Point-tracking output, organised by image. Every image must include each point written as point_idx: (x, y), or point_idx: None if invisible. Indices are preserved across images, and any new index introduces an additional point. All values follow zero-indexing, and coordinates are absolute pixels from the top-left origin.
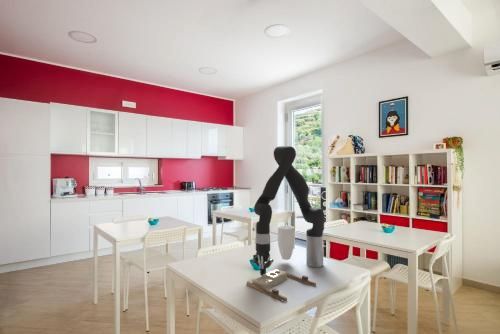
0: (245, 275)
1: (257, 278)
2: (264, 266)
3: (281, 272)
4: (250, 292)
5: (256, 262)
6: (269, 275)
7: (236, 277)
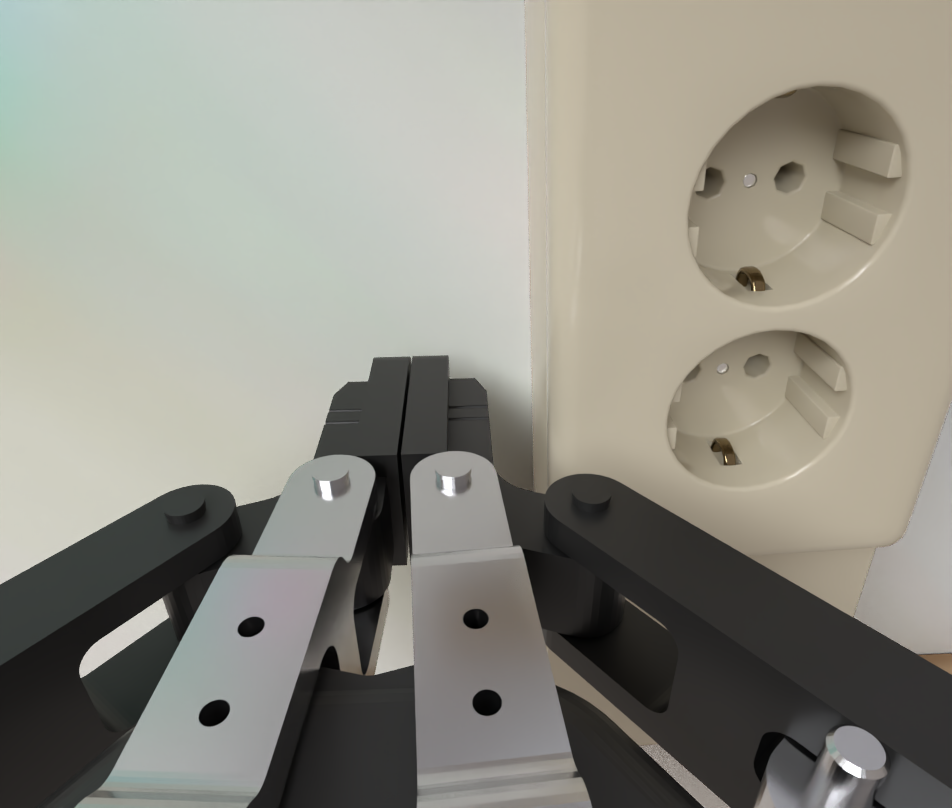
0: (73, 516)
1: (559, 671)
2: (557, 651)
3: (948, 114)
4: (661, 766)
5: (136, 704)
6: (741, 527)
7: (88, 656)
